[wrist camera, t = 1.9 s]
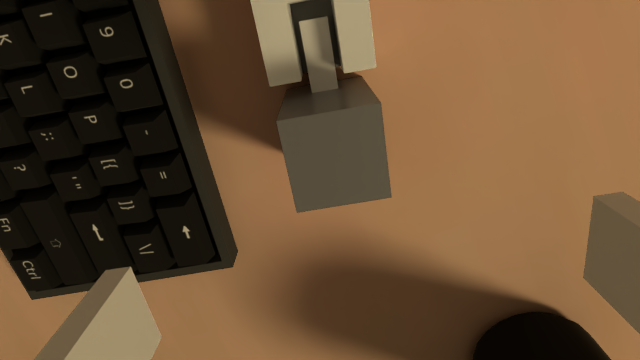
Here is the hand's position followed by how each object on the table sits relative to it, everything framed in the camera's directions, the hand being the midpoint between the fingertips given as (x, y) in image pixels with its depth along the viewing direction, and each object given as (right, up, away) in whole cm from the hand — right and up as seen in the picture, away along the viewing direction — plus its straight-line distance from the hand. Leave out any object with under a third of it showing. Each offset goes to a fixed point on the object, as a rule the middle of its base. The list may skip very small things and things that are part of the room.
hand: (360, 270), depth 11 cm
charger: (-1, +9, +15) cm, 17 cm away
